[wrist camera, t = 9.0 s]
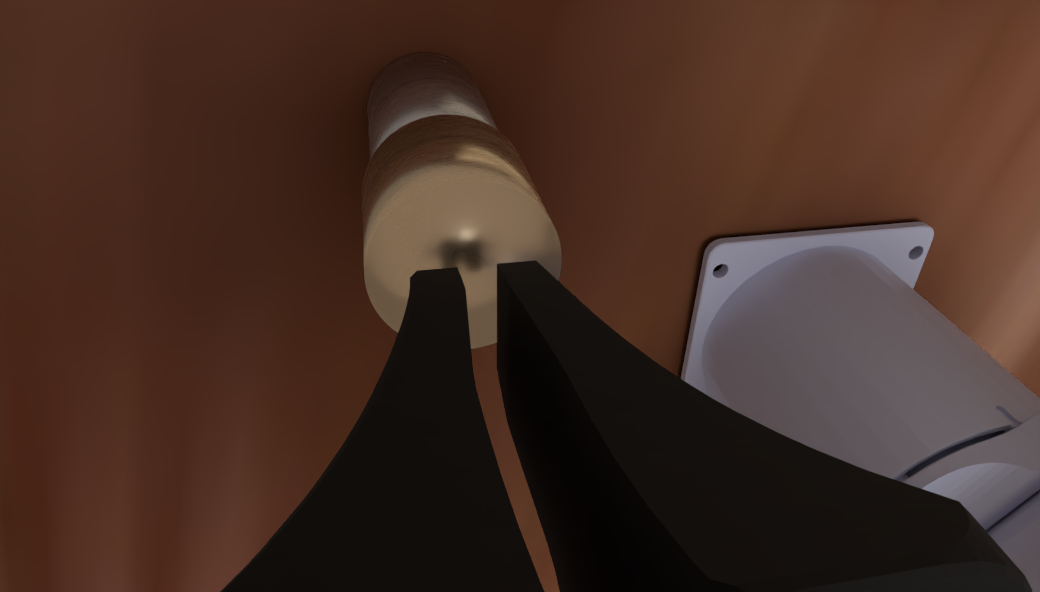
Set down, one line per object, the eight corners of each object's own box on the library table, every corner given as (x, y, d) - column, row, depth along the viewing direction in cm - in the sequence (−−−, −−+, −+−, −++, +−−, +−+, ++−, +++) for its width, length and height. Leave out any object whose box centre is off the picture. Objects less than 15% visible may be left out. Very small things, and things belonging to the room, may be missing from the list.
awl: (490, 166, 20) (557, 339, 14) (366, 174, 19) (374, 359, 13) (489, 42, 18) (566, 173, 12) (352, 46, 18) (353, 187, 11)
